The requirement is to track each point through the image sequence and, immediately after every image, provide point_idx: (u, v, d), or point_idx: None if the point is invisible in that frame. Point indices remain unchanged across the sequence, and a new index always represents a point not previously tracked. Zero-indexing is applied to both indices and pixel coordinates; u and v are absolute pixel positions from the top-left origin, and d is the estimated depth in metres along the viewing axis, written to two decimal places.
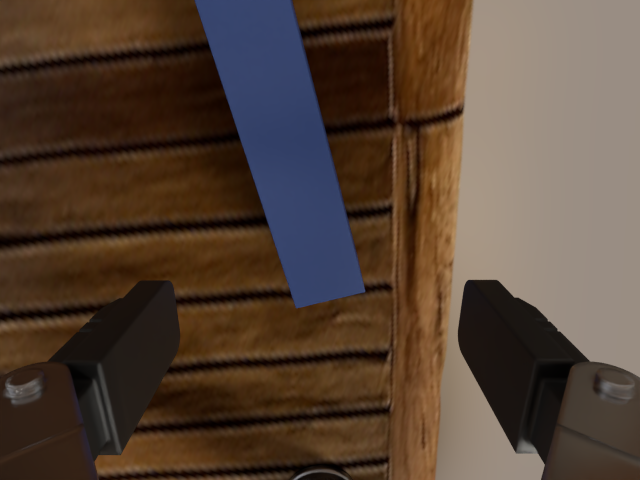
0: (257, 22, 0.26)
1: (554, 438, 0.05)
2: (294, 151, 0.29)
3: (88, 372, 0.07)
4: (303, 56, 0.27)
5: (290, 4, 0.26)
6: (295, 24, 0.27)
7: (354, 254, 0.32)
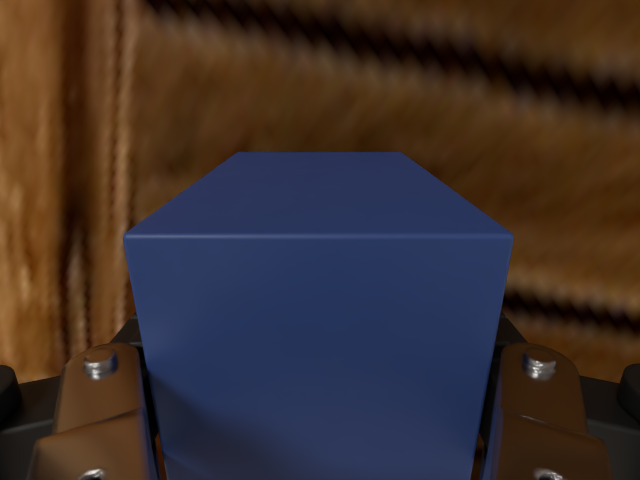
0: None
1: (497, 422, 0.05)
2: None
3: None
4: None
5: None
6: None
7: (159, 416, 0.07)
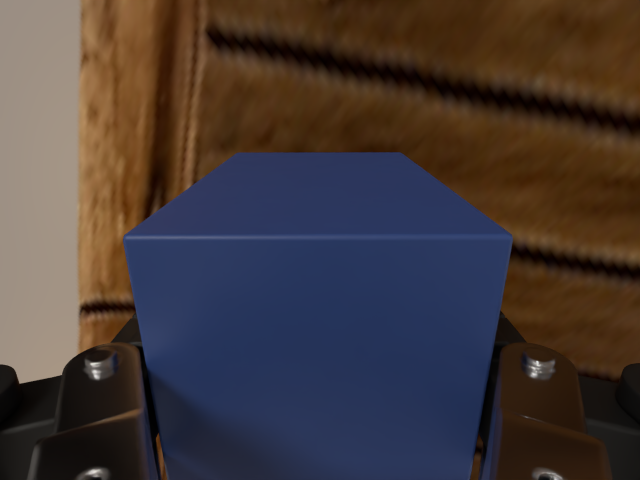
0: None
1: (496, 422, 0.05)
2: None
3: None
4: None
5: None
6: None
7: (159, 416, 0.07)
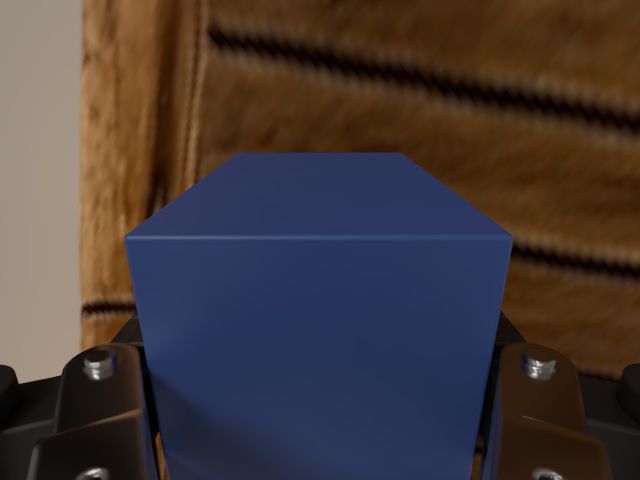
0: None
1: (496, 422, 0.05)
2: None
3: None
4: None
5: None
6: None
7: (160, 416, 0.07)
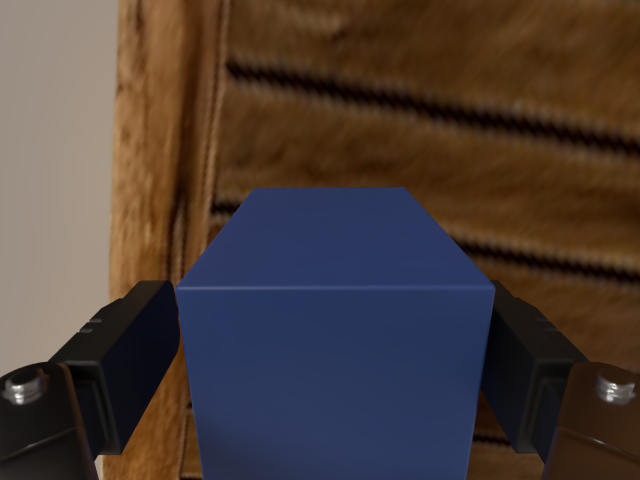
0: None
1: (554, 438, 0.05)
2: None
3: (88, 372, 0.07)
4: None
5: None
6: None
7: (199, 434, 0.09)
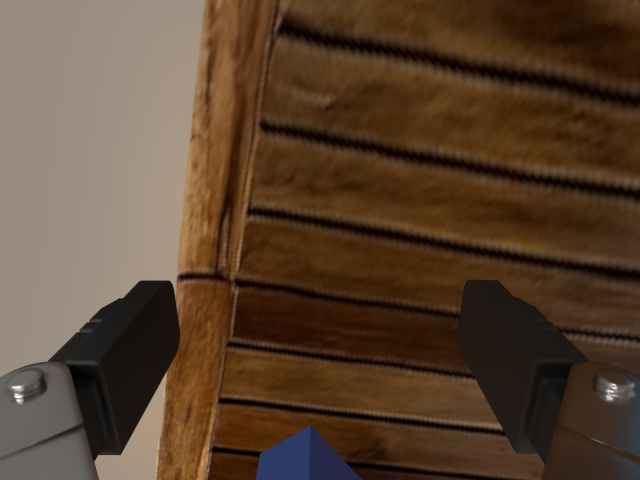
0: None
1: (554, 437, 0.05)
2: None
3: (88, 372, 0.07)
4: None
5: None
6: None
7: None
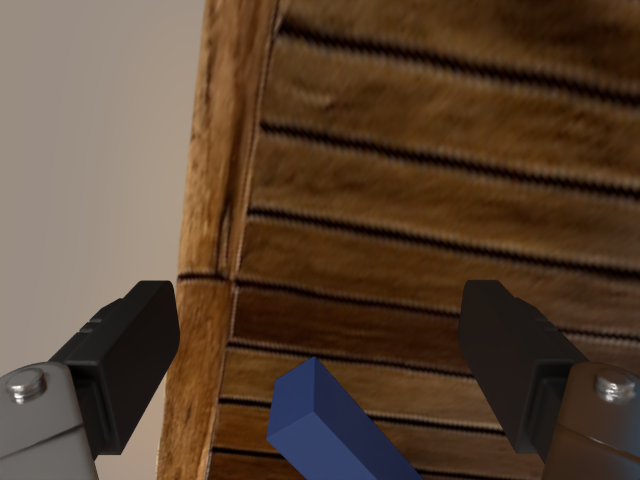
0: None
1: (554, 437, 0.05)
2: None
3: (88, 372, 0.07)
4: None
5: None
6: None
7: (288, 459, 0.42)
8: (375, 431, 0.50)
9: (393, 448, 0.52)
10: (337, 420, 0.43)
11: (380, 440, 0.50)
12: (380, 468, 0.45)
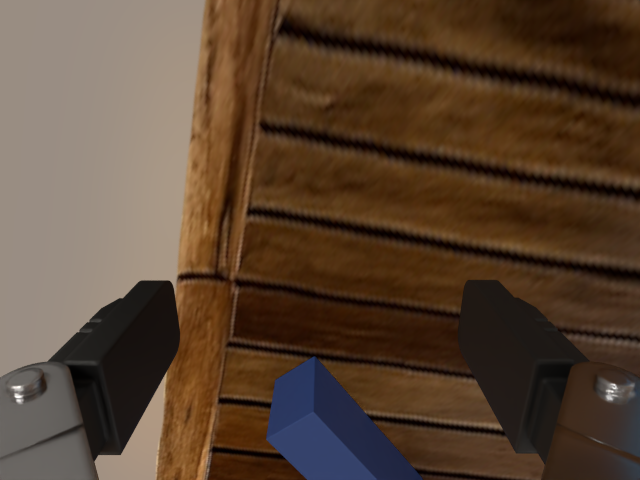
0: None
1: (554, 437, 0.05)
2: None
3: (88, 372, 0.07)
4: None
5: None
6: None
7: (288, 459, 0.42)
8: (375, 431, 0.50)
9: (393, 448, 0.52)
10: (337, 420, 0.43)
11: (380, 440, 0.50)
12: (380, 468, 0.45)
